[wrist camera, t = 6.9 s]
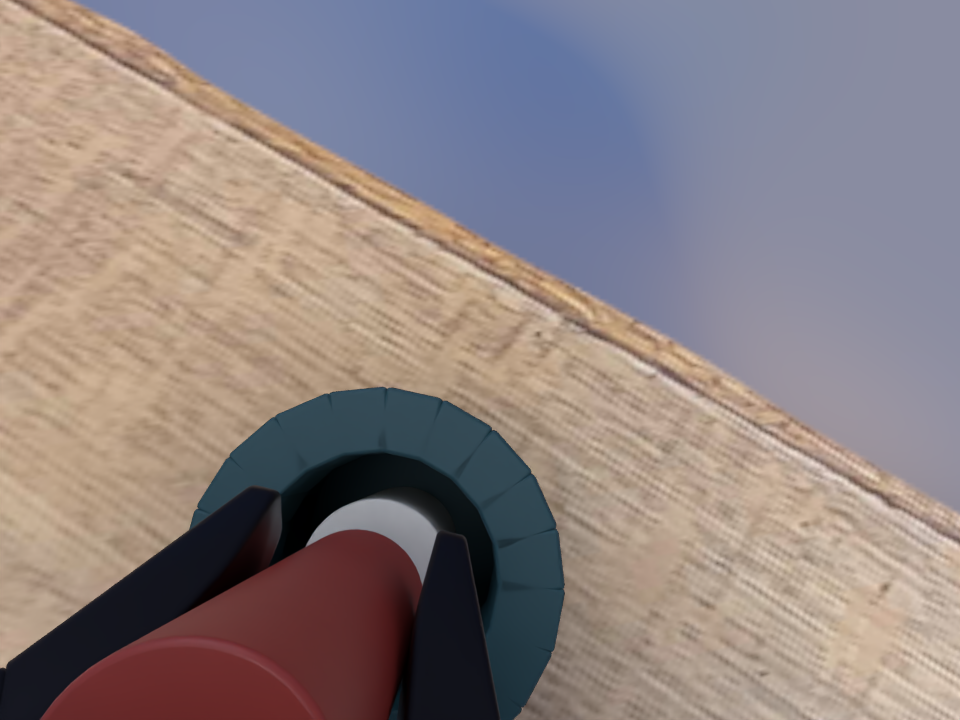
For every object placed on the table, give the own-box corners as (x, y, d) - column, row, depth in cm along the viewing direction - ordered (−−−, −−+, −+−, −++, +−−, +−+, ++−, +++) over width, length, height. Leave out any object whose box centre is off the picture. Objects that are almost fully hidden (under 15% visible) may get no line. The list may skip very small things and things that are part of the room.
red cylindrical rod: (472, 575, 17) (464, 967, 4) (368, 617, 17) (10, 1163, 4) (434, 470, 18) (314, 520, 5) (331, 509, 18) (-103, 682, 4)
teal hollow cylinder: (566, 485, 21) (631, 508, 12) (454, 689, 20) (438, 870, 12) (378, 375, 22) (311, 321, 13) (260, 568, 21) (101, 653, 12)
